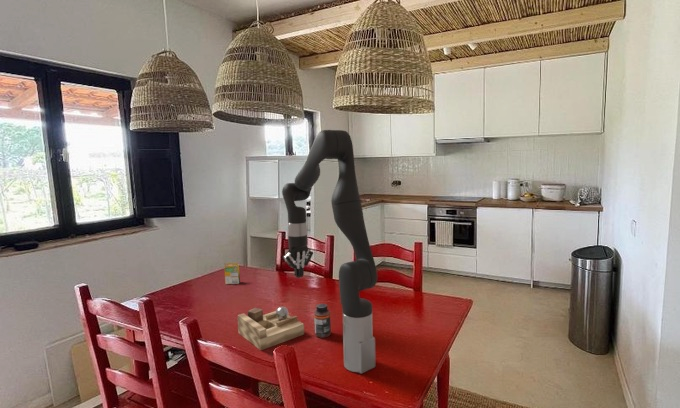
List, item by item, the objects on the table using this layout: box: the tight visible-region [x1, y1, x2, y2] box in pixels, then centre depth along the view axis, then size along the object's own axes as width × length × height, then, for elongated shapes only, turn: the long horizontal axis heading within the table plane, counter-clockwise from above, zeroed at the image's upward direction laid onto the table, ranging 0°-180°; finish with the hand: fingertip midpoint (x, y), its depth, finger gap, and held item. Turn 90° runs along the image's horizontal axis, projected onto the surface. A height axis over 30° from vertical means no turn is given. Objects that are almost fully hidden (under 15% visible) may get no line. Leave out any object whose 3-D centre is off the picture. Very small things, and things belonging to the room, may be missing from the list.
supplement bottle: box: [313, 303, 332, 339], centre depth 135 cm, size 6×6×11 cm
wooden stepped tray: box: [237, 310, 305, 351], centre depth 138 cm, size 18×18×7 cm
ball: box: [274, 306, 289, 320], centre depth 140 cm, size 5×5×5 cm
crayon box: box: [224, 262, 241, 285], centre depth 198 cm, size 7×3×12 cm, turn 93°
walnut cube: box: [247, 307, 264, 322], centre depth 140 cm, size 4×4×4 cm
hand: (299, 277), depth 144 cm, fingers closed
